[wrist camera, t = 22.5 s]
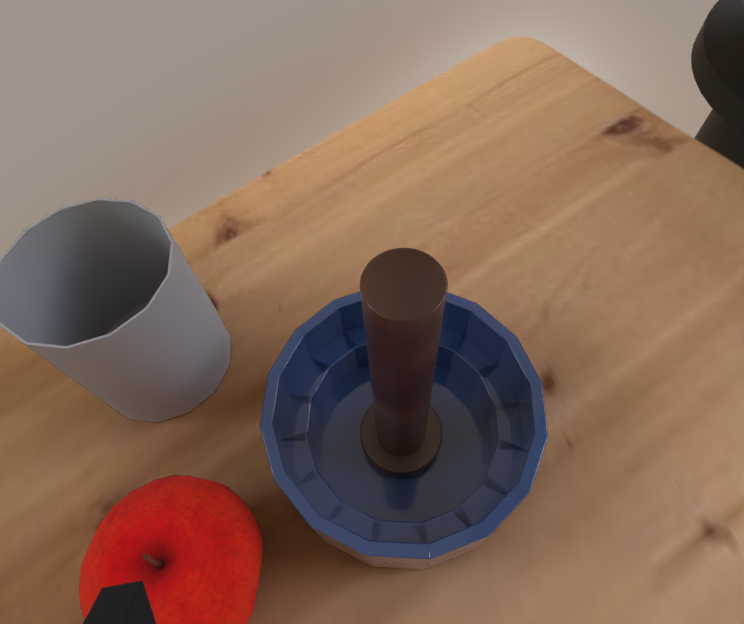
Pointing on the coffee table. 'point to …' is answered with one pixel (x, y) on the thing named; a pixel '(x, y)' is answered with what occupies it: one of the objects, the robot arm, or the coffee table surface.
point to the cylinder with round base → (402, 359)
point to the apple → (179, 552)
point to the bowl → (457, 450)
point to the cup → (115, 308)
